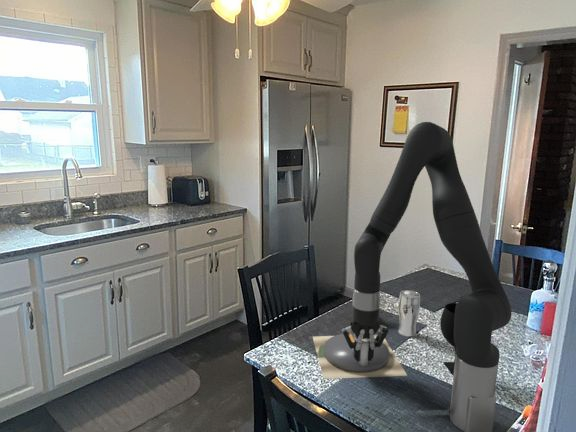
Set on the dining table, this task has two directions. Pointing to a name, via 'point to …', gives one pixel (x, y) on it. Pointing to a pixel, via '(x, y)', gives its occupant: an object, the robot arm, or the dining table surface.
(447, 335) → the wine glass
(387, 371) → the base plate
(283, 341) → the dining table surface
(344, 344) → the dial
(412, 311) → the beer glass
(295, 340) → the dining table surface
